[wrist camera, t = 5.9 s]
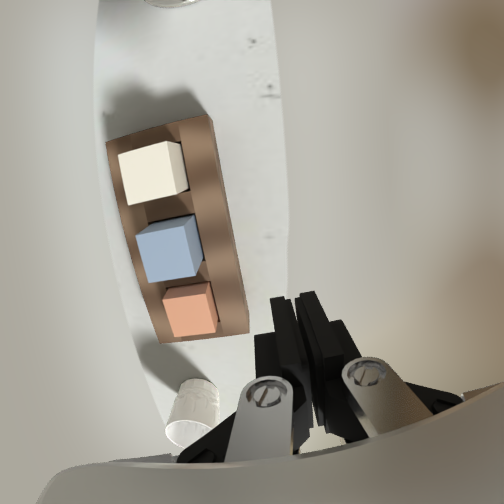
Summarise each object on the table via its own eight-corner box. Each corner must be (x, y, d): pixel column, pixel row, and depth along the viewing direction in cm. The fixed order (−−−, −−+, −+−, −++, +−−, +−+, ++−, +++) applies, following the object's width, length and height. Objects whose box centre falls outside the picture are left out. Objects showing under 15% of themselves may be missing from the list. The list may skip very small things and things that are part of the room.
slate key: (153, 222, 33) (135, 235, 27) (194, 214, 33) (183, 225, 27) (163, 263, 34) (148, 282, 29) (203, 256, 34) (195, 275, 29)
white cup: (215, 411, 47) (210, 454, 38) (172, 399, 46) (161, 441, 37) (228, 383, 45) (225, 429, 36) (181, 369, 44) (169, 413, 35)
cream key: (139, 154, 31) (117, 154, 25) (180, 144, 30) (166, 141, 25) (147, 197, 32) (128, 205, 26) (189, 187, 32) (176, 194, 26)
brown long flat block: (122, 143, 34) (105, 142, 29) (212, 120, 33) (206, 114, 29) (168, 324, 42) (159, 343, 37) (249, 313, 41) (249, 333, 36)
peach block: (174, 279, 37) (162, 299, 32) (211, 273, 37) (205, 293, 32) (183, 312, 39) (174, 337, 33) (219, 307, 39) (215, 332, 33)
